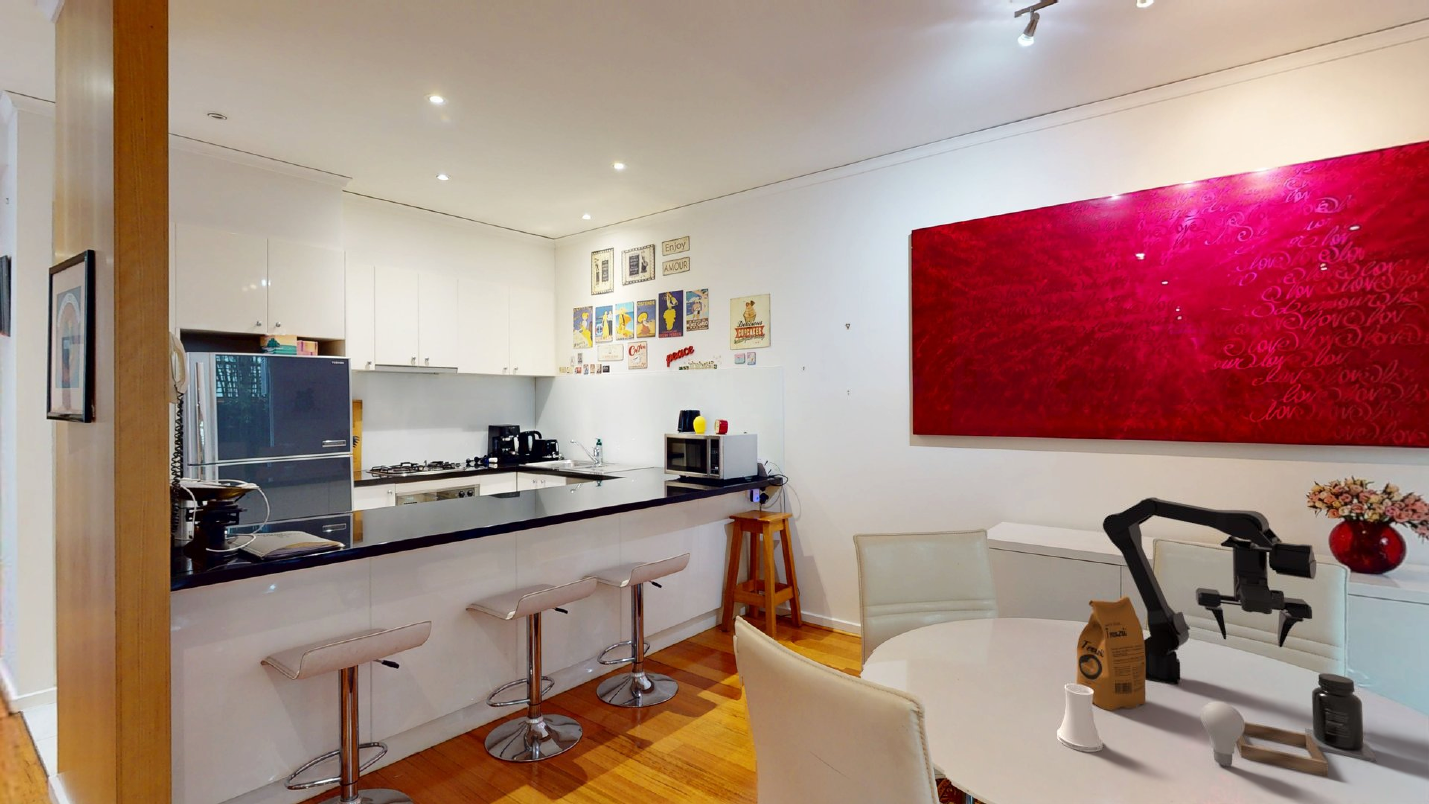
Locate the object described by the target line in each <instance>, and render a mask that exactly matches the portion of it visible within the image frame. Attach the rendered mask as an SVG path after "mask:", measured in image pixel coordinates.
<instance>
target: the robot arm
mask: <svg viewBox="0 0 1429 804" xmlns="http://www.w3.org/2000/svg"><path fill="white" fill-rule="evenodd" d="M1152 517H1159V518H1160V517H1161V518H1165V519H1171V520H1175V521H1180V522H1184V523H1189V524H1195V525H1199V526H1205V527H1209V528H1212V529H1215V530H1216V531H1220V532H1222V533H1223V534H1226V535H1228V538H1227V539H1226V540H1224V541H1223V542H1220V546H1221V547H1224V548H1232V574H1233V575H1232V577H1233V578H1232V579H1233V581H1232V583H1233V595H1229V594H1228V595H1227V594H1220V592H1219V590H1218V589H1212V588H1205V587H1204V588H1203V587H1198V588H1197V589H1195V600H1196V603H1197V605H1198V606H1200V607H1201V606H1202V607H1203V608H1204V609H1205V610H1206V611H1211V612H1212V614H1213V616H1214V618H1215V619H1216V624H1217V626H1218V627H1219V630H1220V633H1221V636H1222V638H1223V640H1227V631H1226V625H1225V619H1224V609H1223V608H1222V606H1221V605H1222V604H1225V605H1232V606H1233V605H1234V606H1240V607H1241V610H1242V611H1243V612H1247V613H1258V614H1263V615H1271V614H1272V613H1273V611H1279V614H1278V627H1277V645H1278V647H1279V648H1282V647H1283V645H1284V643H1285V641H1286V640H1287V637H1288V635H1289V633H1290V631H1291V629H1292V628H1293V626H1294V625H1295V624H1296V623H1299V622H1300V623H1303V622H1304V620H1305V619H1306V620H1313V610H1312V606H1311V605H1310V604H1308V602H1306V601H1305V600H1304V599H1303V598H1295V597H1294V598H1293V597H1286V596H1285V593H1284V591H1283V590H1280V589H1279V590H1277V589H1270V587H1269V583H1268V582H1269V578H1268V571H1269V570H1268V565H1269V568H1270V569H1271V570H1272V571H1275V573H1276V574H1277V575H1283V576H1287V577H1295V578H1301V579H1309V580H1315V578H1316V574H1317V560H1316V558H1315V553H1314V550H1313V545H1312V544H1304V543H1302V544H1295V543H1287V542H1283V541H1282V540H1281V539H1280V538H1279V536H1278V535H1277V534H1276V533H1275V532H1274V531H1273V530H1272V529H1271V528H1270V522H1269V520H1268V518H1267V517H1266V516H1265V515H1264V514H1262V513H1261V512H1259V511H1256V510H1255V511H1254V510H1248V509H1247V510H1245V509H1240V510H1239V509H1213V508H1209V507H1203V506H1197V505H1191V504H1186V503H1180V502H1177V501H1171V500H1165V499H1160V498H1157V497H1155V496H1153V497H1146V498H1144V499H1141V500H1140V501H1139V502H1138V503H1136V504H1134V505H1133V506H1131V507H1129V508H1127V509H1125V510H1124V511H1122V512H1116V513H1112V514H1109V515H1107V516H1106V517H1105V518H1104V519H1103V522H1102V529H1103V531H1104V533H1105V535H1107V537H1108V538H1109V540H1110V542H1111V543H1112V544H1113V545H1114V546H1115V548H1117V549H1118V550H1119V551H1120V552H1121V554H1122V556H1123V559H1124V561H1125V563H1126V566H1127V568H1128V570H1129V572H1130V574H1131V577H1132V580H1133V581H1134V582H1133V583H1135V586H1136V588H1137V591H1138V593H1139V595H1140V597H1141V599H1142V602H1143V604H1144V607H1145V609H1146V611H1147V612H1146V613H1147V627H1148V632H1149V636H1148V637H1147V638H1144V644H1145V658H1146V671H1145V673H1146V679H1145V680H1151V681H1155V682H1160V683H1167V684H1172V685H1179V681H1180V680H1181V662H1180V659H1179V658H1178V655H1177V650H1179V648H1180V647H1181V646H1183V645H1184V644H1185V643H1187V641H1188V640H1189V638H1190V633H1189V630H1191V628H1190V626H1189V625H1188V624H1187V622H1186V620H1185V616H1184V614H1183V612H1182V611H1179V612H1175V611H1174V610H1173V609H1172V608H1171V607H1170V606H1169V604H1168V602H1167V600H1166V597H1165V594H1164V592H1163V590H1162V588H1161V586H1160V584H1159V582H1158V580H1157V577H1156V575H1155V573H1154V571H1153V569H1152V566H1151V564H1150V562H1149V560H1148V558H1147V555H1146V552H1145V551H1144V548H1143V542H1142V541H1143V540H1142V531H1141V527H1140V525H1141V524H1143V523H1145V522H1147V521H1148V520H1150V519H1151V518H1152Z"/></svg>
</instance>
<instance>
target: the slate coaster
mask: <svg viewBox="0 0 1429 804" xmlns="http://www.w3.org/2000/svg"><path fill="white" fill-rule="evenodd" d="M1304 731H1305V734H1309V735H1310V736H1311V737H1312V739H1313V741H1314V742H1315V744H1316V745H1317V747H1318V749H1319V750H1320V752H1321V751H1322V752H1327V753H1331V754H1337V755H1341V756H1346V757H1351V758H1355V759H1360V760H1366V761H1370V762H1377V757H1376V756H1375V755H1374V754H1373V751H1372V750H1370V748H1369V747H1368V746H1367V744H1366V743H1365V742H1364V745H1363V748H1362V749H1360V750H1345V749H1340V748H1336V747H1333V746H1330V745H1327V744H1325V743H1323V742H1321V741H1319V740H1318V739H1316V737H1315V736H1314V734H1313V728H1306V727H1305V728H1304Z"/></svg>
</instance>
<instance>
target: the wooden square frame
mask: <svg viewBox="0 0 1429 804" xmlns="http://www.w3.org/2000/svg"><path fill="white" fill-rule="evenodd" d="M1244 723H1245V729H1244V732H1243V734H1242V735H1241V736H1240V738H1239V739H1238V740H1237V742H1236V744H1235V746H1236V748H1237V749H1238V752H1239V754H1240V755H1239V756H1240V757H1241V758H1243V759H1248V760H1251V761H1252V760H1253V761H1256V762H1260V763H1266V764H1269V765H1275V766H1280V767H1284V768H1288V769H1293V770H1297V771H1303V772H1306V773H1312V774H1316V775H1320V776H1323V777H1324V776H1325V777H1329V773H1328V771H1329V770H1328V769H1329V768H1328V762H1327V760H1326V759H1325V757H1324V755H1323V754H1322V752H1321V750H1319V749H1318V747H1317V745H1316V744H1315V742H1314V741H1313V739H1312V737H1311V736H1310V735H1309V734H1307V733H1304V732H1303V733H1302V732H1298V731H1292V730H1287V729H1283V728H1278V727H1272V726H1269V725H1268V726H1267V725H1263V724H1258V723H1252V722H1248V721H1244ZM1243 736H1250V737H1255V738H1259V739H1264V740H1269V741H1274V742H1279V743H1283V744H1286V745H1287V744H1289V745H1293V746H1298V747H1303V748H1305V749H1306V751H1307V753H1308V754H1309V756H1310V757H1308V756H1303V755H1298V754H1293V753H1288V752H1283V751H1279V750H1274V749H1270V748H1265V747H1259V746H1256V745H1252V744H1251V745H1250V744H1247V742H1245V739H1244V737H1243Z"/></svg>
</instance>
